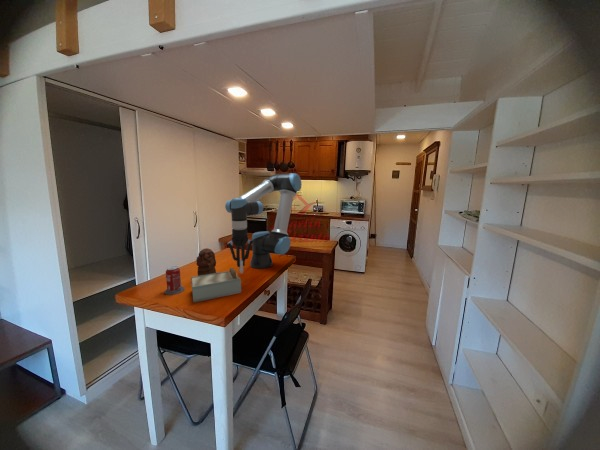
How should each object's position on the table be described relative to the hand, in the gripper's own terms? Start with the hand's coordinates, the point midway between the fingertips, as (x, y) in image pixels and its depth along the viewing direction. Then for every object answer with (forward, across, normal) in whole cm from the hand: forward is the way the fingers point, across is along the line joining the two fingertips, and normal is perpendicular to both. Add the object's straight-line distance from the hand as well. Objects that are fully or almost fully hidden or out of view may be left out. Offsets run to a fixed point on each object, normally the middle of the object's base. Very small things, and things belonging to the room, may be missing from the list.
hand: (241, 272), depth 118 cm
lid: (+2, +13, 0) cm, 13 cm away
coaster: (+9, +32, -11) cm, 35 cm away
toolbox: (+9, +13, 0) cm, 15 cm away
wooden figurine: (+9, +15, -20) cm, 26 cm away
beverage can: (+8, +32, -11) cm, 35 cm away
